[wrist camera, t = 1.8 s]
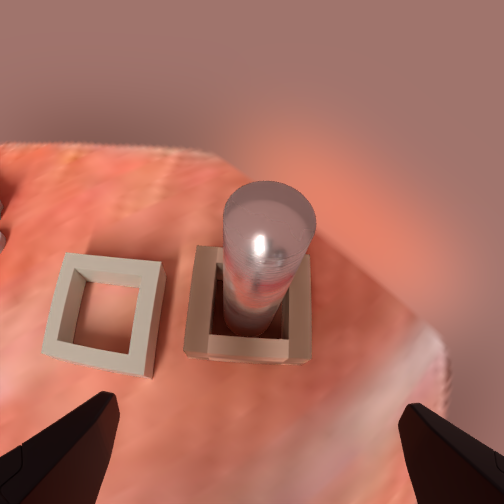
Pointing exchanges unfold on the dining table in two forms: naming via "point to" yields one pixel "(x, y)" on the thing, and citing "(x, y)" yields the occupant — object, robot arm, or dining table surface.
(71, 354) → the square hollow frame
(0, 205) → the grey jagged open ring
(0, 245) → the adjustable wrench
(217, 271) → the beige square ring
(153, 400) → the dining table surface
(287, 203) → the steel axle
